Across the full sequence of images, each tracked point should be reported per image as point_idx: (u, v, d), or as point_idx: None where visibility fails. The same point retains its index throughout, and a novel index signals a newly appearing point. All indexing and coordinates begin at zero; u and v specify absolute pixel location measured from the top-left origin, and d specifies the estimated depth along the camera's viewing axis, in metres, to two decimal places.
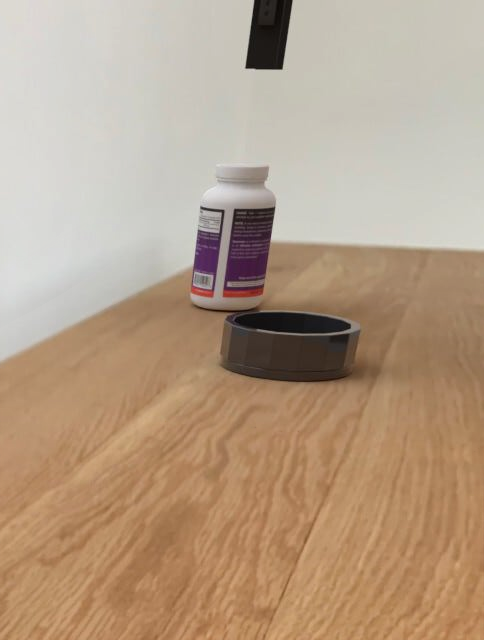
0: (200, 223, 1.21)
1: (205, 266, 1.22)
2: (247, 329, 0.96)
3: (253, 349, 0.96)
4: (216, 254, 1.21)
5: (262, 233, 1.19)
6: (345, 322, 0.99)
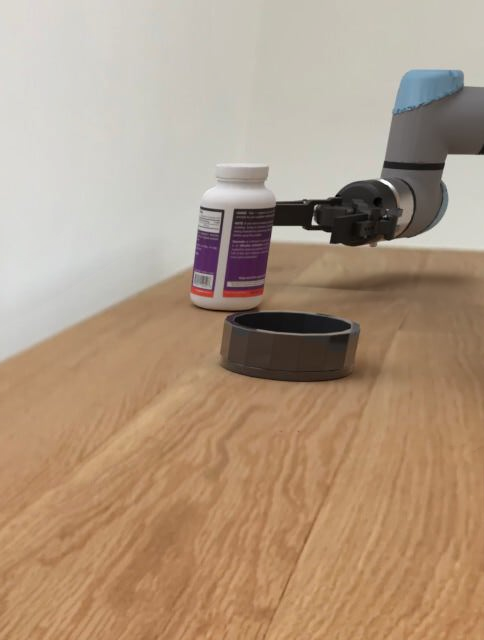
0: (200, 223, 1.21)
1: (205, 266, 1.22)
2: (247, 329, 0.96)
3: (253, 349, 0.96)
4: (216, 254, 1.21)
5: (262, 232, 1.19)
6: (345, 322, 0.99)
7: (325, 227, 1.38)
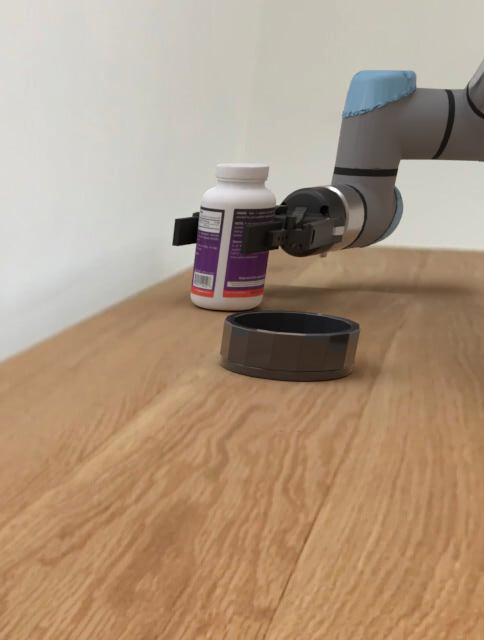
0: (200, 223, 1.21)
1: (205, 266, 1.22)
2: (247, 329, 0.96)
3: (253, 349, 0.96)
4: (216, 254, 1.21)
5: None
6: (345, 322, 0.99)
7: None
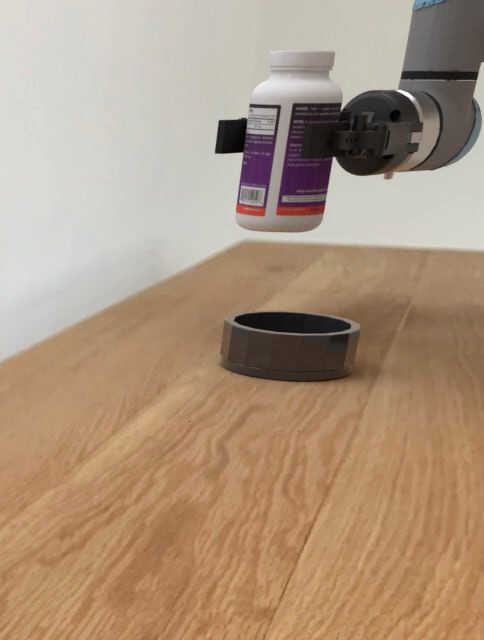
0: (249, 125, 1.00)
1: (255, 178, 1.01)
2: (247, 329, 0.96)
3: (253, 349, 0.96)
4: (269, 162, 0.99)
5: None
6: (345, 322, 0.99)
7: None
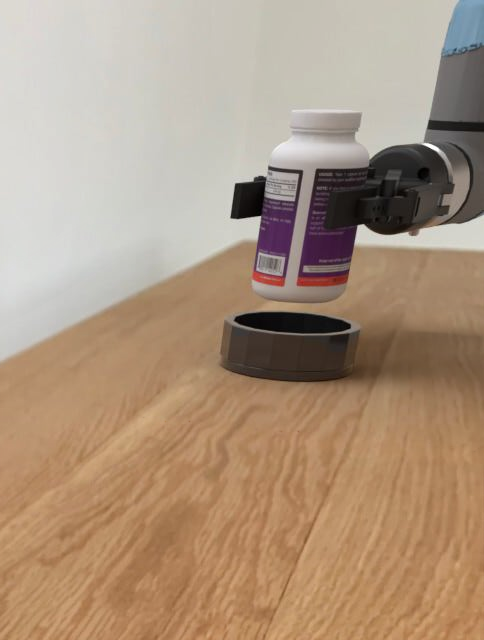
0: (268, 189, 0.93)
1: (274, 246, 0.93)
2: (247, 329, 0.96)
3: (253, 349, 0.96)
4: (290, 230, 0.92)
5: None
6: (345, 322, 0.99)
7: None
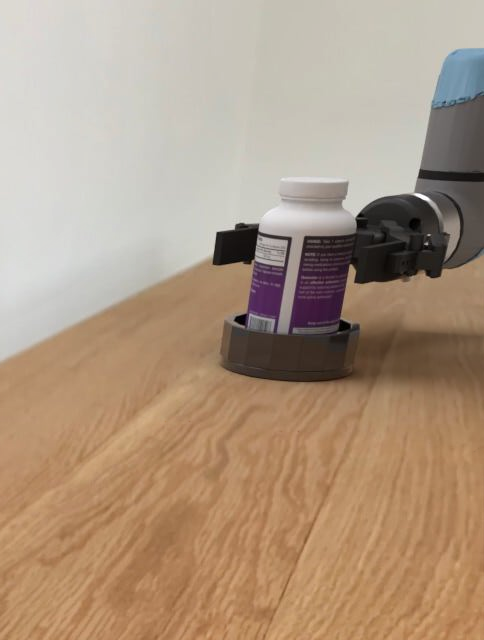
0: (258, 253, 0.95)
1: (264, 308, 0.96)
2: (247, 329, 0.96)
3: (253, 349, 0.96)
4: (279, 293, 0.95)
5: (339, 266, 0.93)
6: (345, 322, 0.99)
7: None
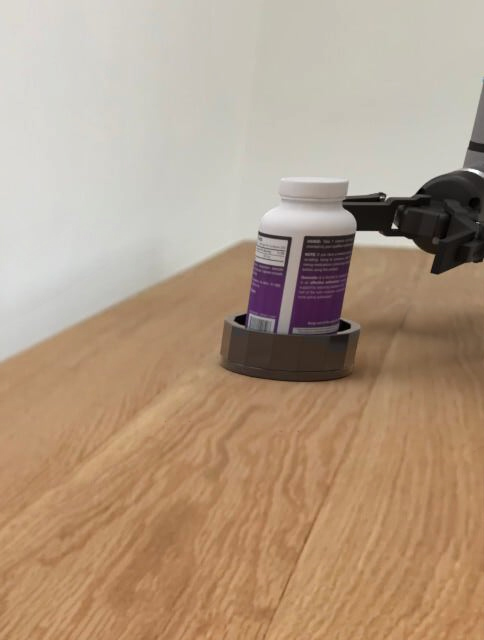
0: (258, 253, 0.95)
1: (264, 308, 0.96)
2: (247, 329, 0.96)
3: (253, 349, 0.96)
4: (279, 293, 0.95)
5: (339, 266, 0.93)
6: (345, 322, 0.99)
7: (407, 233, 1.11)
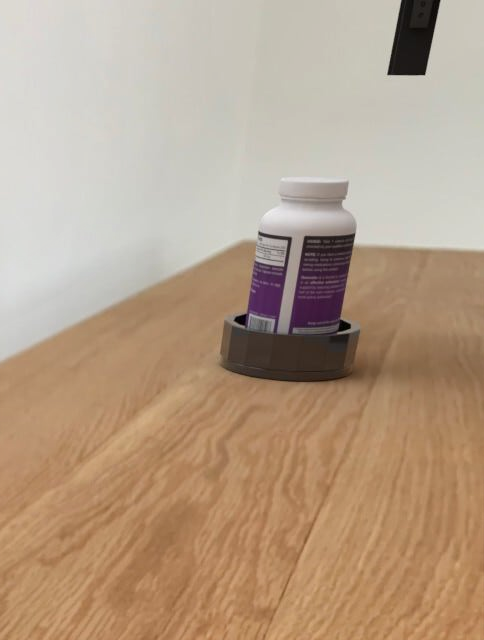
0: (258, 253, 0.95)
1: (264, 308, 0.96)
2: (247, 329, 0.96)
3: (253, 349, 0.96)
4: (279, 293, 0.95)
5: (339, 266, 0.93)
6: (345, 322, 0.99)
7: None
